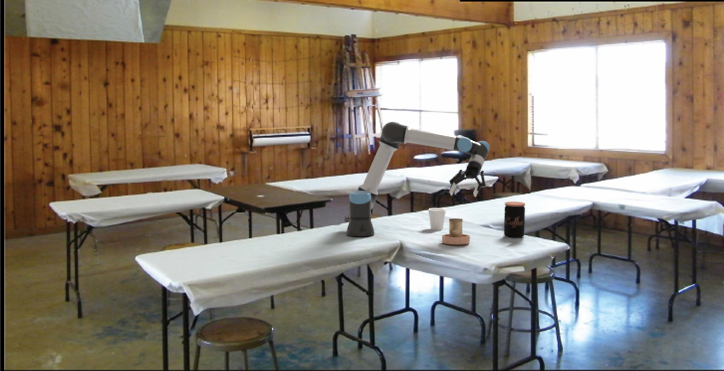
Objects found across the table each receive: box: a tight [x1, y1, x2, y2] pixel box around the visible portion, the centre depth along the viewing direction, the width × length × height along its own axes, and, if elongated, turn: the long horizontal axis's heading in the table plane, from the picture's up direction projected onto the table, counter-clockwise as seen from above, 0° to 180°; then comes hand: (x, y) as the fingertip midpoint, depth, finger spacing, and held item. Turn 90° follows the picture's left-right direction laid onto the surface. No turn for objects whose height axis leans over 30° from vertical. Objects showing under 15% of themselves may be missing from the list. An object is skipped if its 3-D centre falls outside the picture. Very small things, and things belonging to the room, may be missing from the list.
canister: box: [448, 217, 464, 237], centre depth 338 cm, size 7×7×11 cm
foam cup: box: [428, 207, 447, 231], centre depth 379 cm, size 10×9×13 cm
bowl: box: [441, 233, 471, 246], centre depth 339 cm, size 14×14×4 cm
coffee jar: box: [503, 201, 526, 239], centre depth 358 cm, size 11×11×18 cm
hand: (462, 194), depth 351 cm, fingers open, 13 cm apart
